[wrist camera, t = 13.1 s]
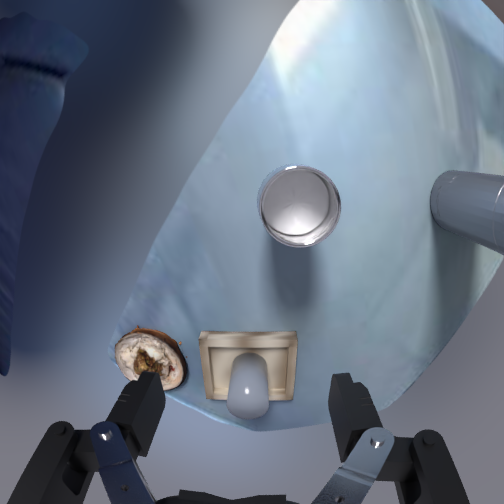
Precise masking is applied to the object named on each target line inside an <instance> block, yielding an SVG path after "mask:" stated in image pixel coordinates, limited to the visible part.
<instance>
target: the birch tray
mask: <svg viewBox="0 0 504 504" xmlns="http://www.w3.org/2000/svg"><path fill="white" fill-rule="evenodd" d="M297 342H298V339H297V334H296V331H288V332H219V331H201V334H200V337H199V346H200V355H201V363H202V370H203V378H204V385H205V392H206V399H218V400H227V397H228V389H229V382H230V375H231V367H232V362H233V360H234V359H235V358H236V357H237V356H238V355H240V354H243V353H256V354H258V355H260V356H262V357H263V358H264V359H265V360H266V362H267V370H268V395H269V400H293V391H294V380H295V368H296V356H297Z"/></svg>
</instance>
